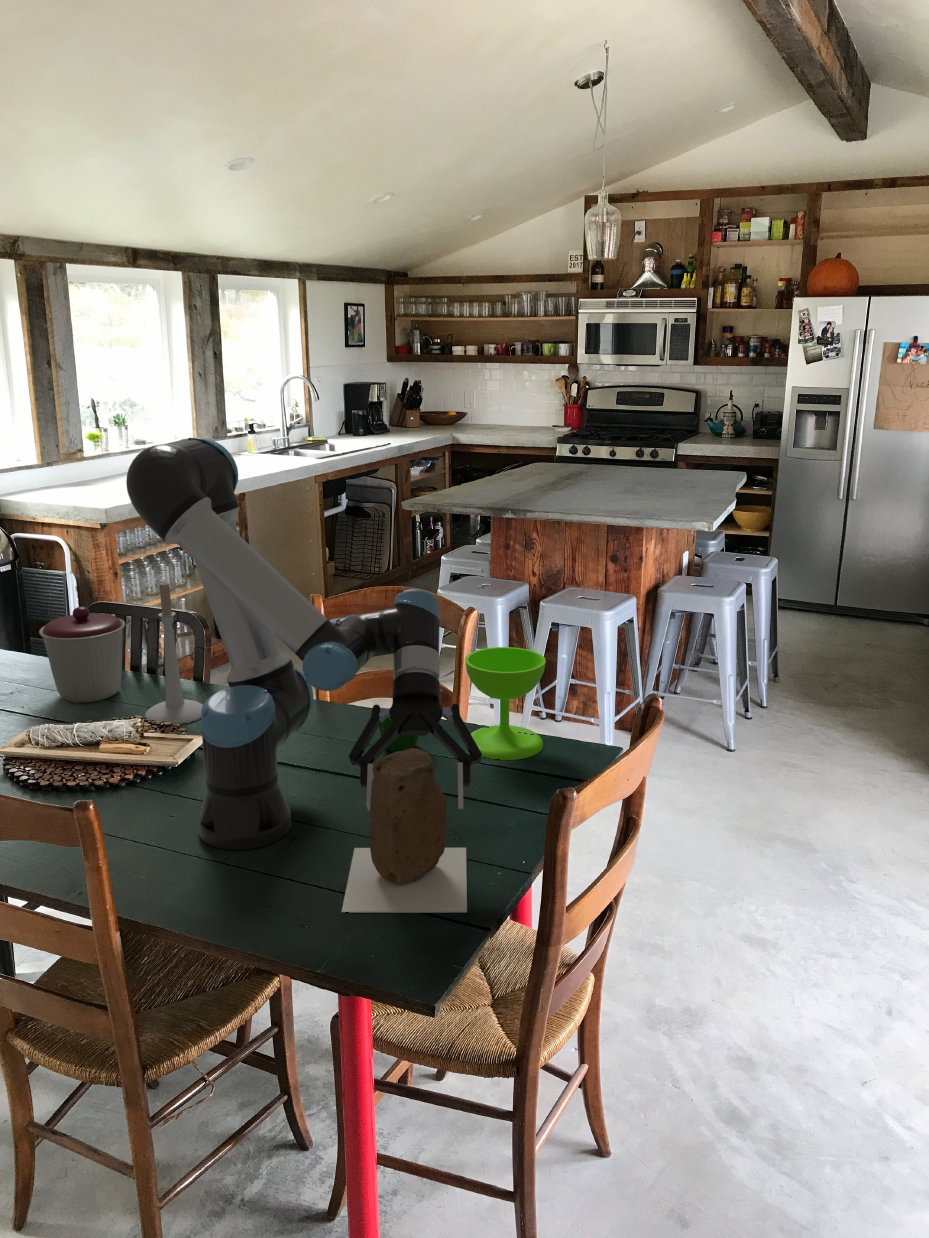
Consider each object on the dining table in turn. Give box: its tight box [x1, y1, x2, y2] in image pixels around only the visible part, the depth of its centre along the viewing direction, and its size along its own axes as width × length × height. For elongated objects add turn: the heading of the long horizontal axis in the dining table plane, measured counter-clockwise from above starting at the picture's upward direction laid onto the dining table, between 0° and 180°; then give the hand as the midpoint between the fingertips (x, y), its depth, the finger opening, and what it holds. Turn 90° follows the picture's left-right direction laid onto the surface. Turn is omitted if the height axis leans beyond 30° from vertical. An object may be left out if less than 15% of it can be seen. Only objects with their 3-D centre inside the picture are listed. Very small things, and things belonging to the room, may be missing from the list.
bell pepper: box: [378, 716, 420, 753], centre depth 194 cm, size 8×8×10 cm
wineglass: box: [464, 646, 547, 761], centre depth 195 cm, size 16×16×18 cm
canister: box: [38, 606, 126, 704], centre depth 221 cm, size 18×18×21 cm
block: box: [369, 747, 448, 884], centre depth 145 cm, size 11×8×20 cm
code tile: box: [341, 847, 468, 914], centre depth 148 cm, size 18×18×1 cm
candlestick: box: [144, 581, 203, 724], centre depth 208 cm, size 13×13×30 cm
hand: (415, 807), depth 146 cm, fingers open, 13 cm apart
